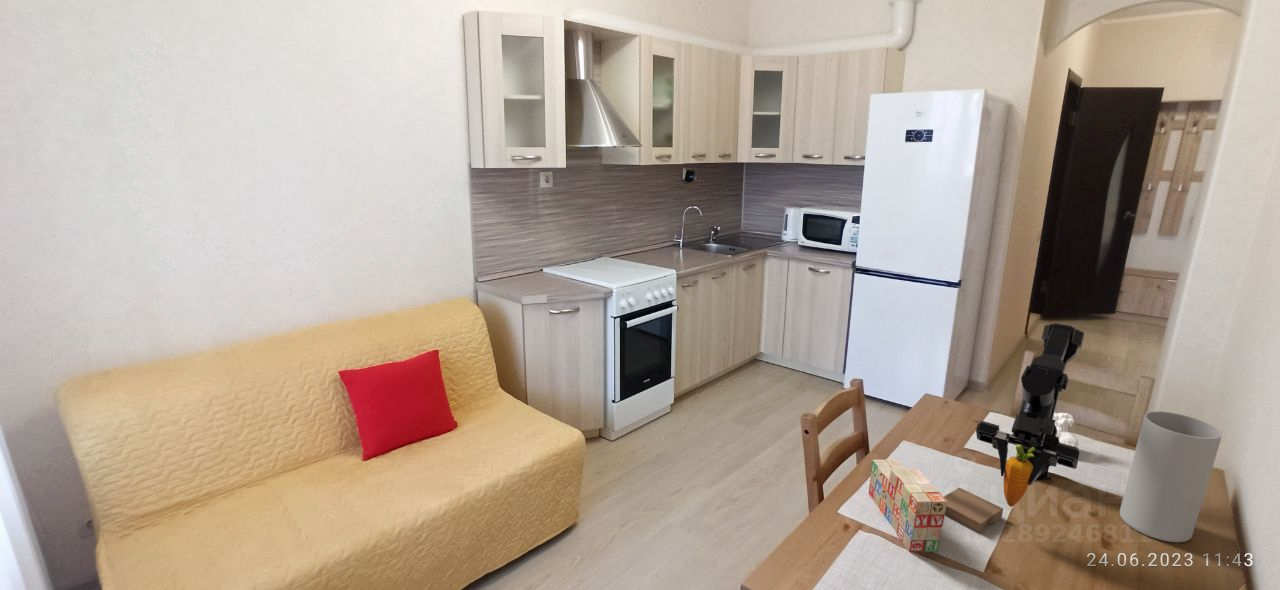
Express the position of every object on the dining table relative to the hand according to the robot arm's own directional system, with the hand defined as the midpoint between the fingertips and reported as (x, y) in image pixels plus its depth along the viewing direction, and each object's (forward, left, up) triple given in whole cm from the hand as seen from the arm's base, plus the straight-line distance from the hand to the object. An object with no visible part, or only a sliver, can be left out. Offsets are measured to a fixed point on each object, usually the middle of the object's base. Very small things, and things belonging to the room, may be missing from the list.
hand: (1015, 480), depth 127 cm
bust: (-39, -37, -13) cm, 56 cm away
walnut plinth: (+4, -7, -13) cm, 16 cm away
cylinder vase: (-36, -2, -13) cm, 39 cm away
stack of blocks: (+21, -5, -14) cm, 25 cm away
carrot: (-1, -1, -7) cm, 7 cm away
